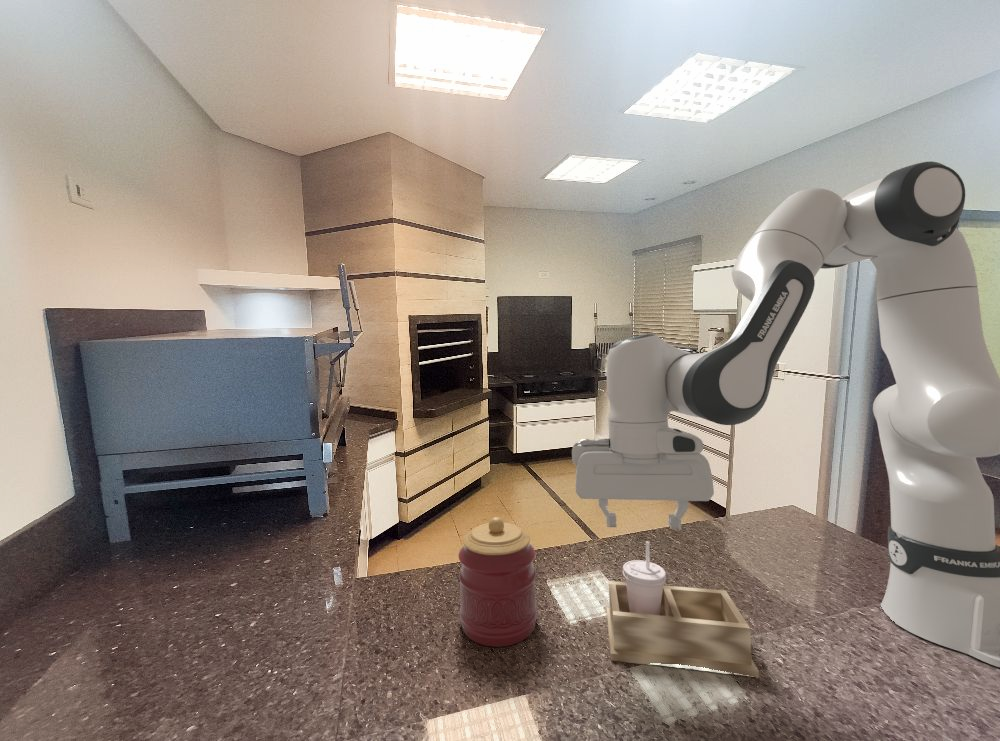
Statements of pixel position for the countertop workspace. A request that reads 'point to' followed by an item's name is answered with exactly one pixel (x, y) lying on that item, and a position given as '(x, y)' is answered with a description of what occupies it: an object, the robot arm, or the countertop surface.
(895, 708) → the countertop surface
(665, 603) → the wooden divided tray
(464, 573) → the canister
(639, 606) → the smoothie
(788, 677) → the countertop surface
